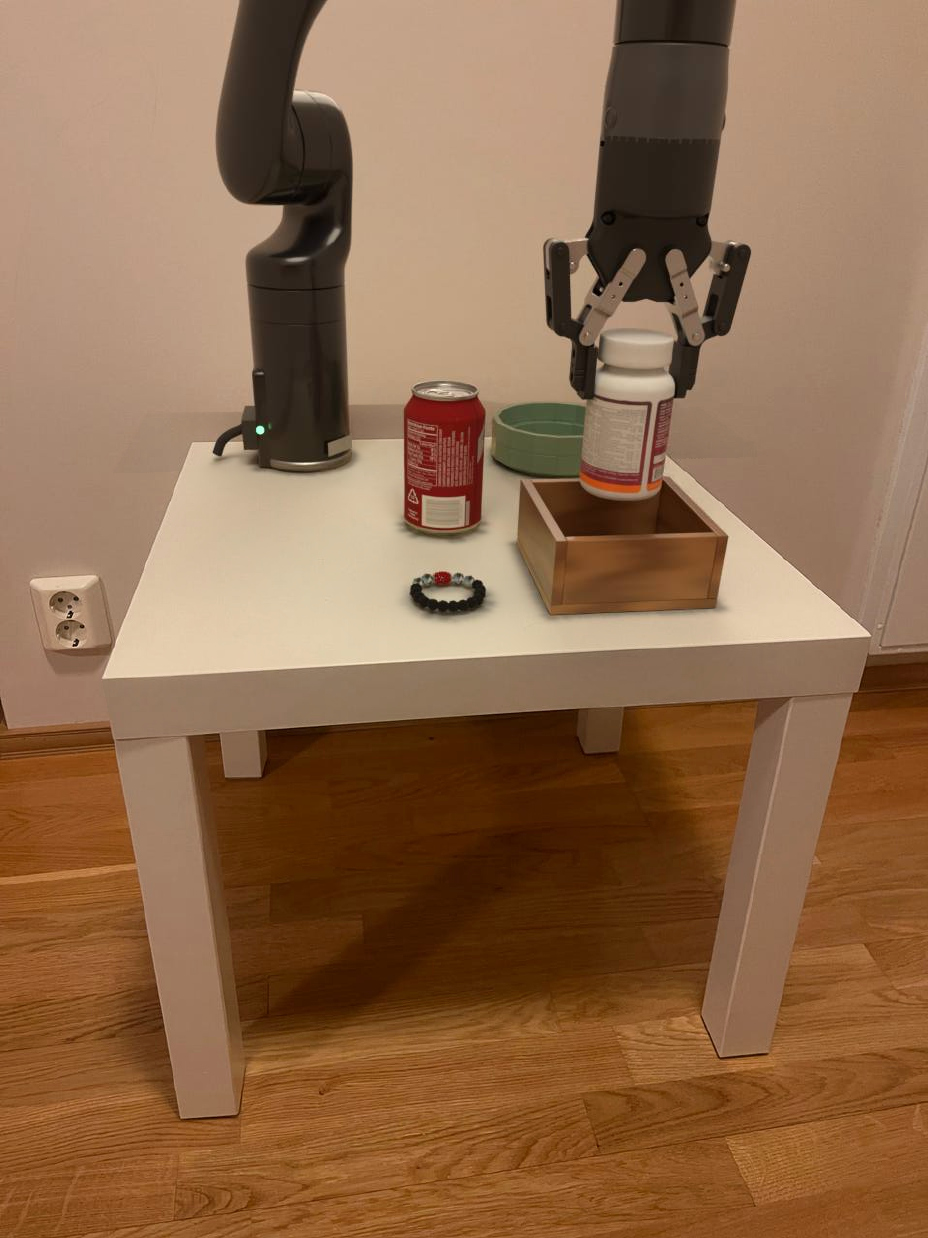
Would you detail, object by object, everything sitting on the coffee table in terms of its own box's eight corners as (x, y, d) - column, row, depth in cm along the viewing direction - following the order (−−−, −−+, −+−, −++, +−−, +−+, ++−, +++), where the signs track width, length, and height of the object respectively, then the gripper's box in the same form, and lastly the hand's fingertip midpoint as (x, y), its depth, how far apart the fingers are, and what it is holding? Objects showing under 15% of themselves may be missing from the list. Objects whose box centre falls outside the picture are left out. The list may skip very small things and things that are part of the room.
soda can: (472, 544, 76) (478, 402, 70) (395, 535, 77) (394, 395, 72) (487, 514, 82) (493, 381, 76) (414, 507, 83) (415, 375, 77)
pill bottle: (634, 472, 72) (653, 324, 67) (676, 498, 67) (699, 341, 62) (564, 479, 70) (577, 327, 65) (602, 507, 65) (619, 345, 60)
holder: (550, 615, 65) (556, 541, 63) (516, 544, 76) (520, 478, 74) (716, 608, 67) (729, 535, 64) (660, 540, 78) (669, 475, 75)
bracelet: (479, 578, 70) (479, 567, 70) (492, 613, 65) (493, 601, 65) (405, 582, 69) (405, 570, 69) (414, 617, 64) (414, 604, 64)
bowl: (504, 482, 90) (506, 438, 88) (482, 441, 101) (484, 401, 99) (632, 479, 92) (637, 436, 89) (597, 439, 103) (601, 400, 101)
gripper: (744, 134, 61) (705, 383, 69) (536, 127, 59) (521, 384, 67) (795, 136, 55) (746, 410, 63) (563, 128, 53) (543, 412, 61)
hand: (629, 395), depth 65 cm, fingers closed on pill bottle, 6 cm apart
